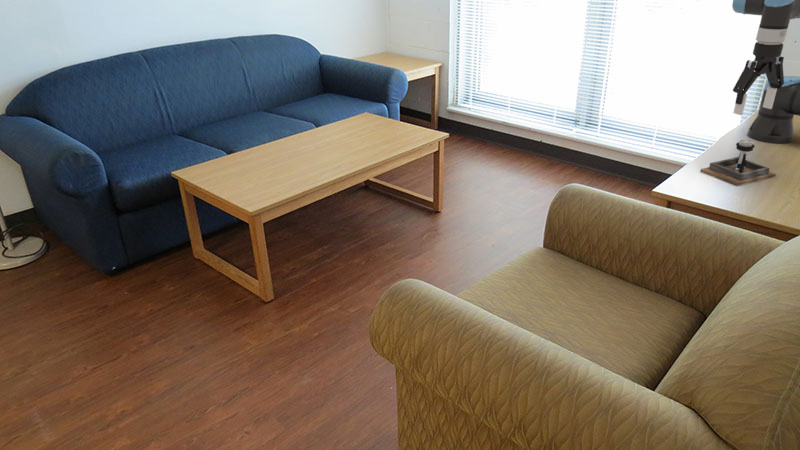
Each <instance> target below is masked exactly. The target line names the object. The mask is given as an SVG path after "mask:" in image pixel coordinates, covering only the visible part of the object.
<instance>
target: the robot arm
mask: <svg viewBox="0 0 800 450" xmlns="http://www.w3.org/2000/svg"><path fill="white" fill-rule="evenodd" d="M731 6H732V10H733V12H734V13H736V14H742V15H750V16H751V15H752V16H760V23H759V25H758V29H757V33H756V37H755V40H756V42H754V46H753V51H752V54H753V56H755V58H754V60H750V59H748V60H747V61H746V62H745V66H744V68H743V70H742V72H741V74H740V76H739V78H738V80H737V82H736V83H735V85H734V86H733V88H732V92H734V93H736V97H735V98H736V99H735V104H734V109H733V114H735V115H739V116H743V115H744V110H745V108H746V107H745V106H746V103H747V99H748V94H747V92H748V91H749V90H750V88H751V87H752V85H753V84H755V82H756V80H757V79H758V77H760V76H762V75H765V76H766V78H767V81H766V83H765V86H764V88H763V93H762V97H761V101H760V103H759V104H760V105H759V109H758V113H757V116H756V117H755V119H754V120H753V122H752V123H751V124H750V127H749V128H748V131H747V136H748V137H749V138H751V139H754V140H756V141H760V142H765V143H772V144H773V143H774V144H786V143H791V142H793V139H794V136H795V134H794V121H793V120H794V116H798V117H800V76H797V75H795V76H794V75H793V76H791V75H789V76H788V75H785V74H784V65H783V64H784V56H782V52H783V48H784V42H785V40H786V37H787V32H788V28H789V24H790V20H794V19H800V0H732V5H731Z"/></svg>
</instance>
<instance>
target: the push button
mask: <svg viewBox="0 0 800 450" xmlns="http://www.w3.org/2000/svg"><path fill="white" fill-rule="evenodd" d="M735 145H736V148H735V149H736V150H738V151H739V152H740V153H739V156H737V157H738V159H736V165H735V166H734V169H735V170H734V171H736V172H739V173H740V172H741V171H742V170H743V172H744V170H745V167H746V163H747V153H749V152H752V151H753V150H754V148H755V146H756V145H755V144H753V142H752V141H751V140H749V139H748V140H745V139H741V140H740V141H739V142H736V143H735Z"/></svg>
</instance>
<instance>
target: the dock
mask: <svg viewBox="0 0 800 450" xmlns="http://www.w3.org/2000/svg"><path fill="white" fill-rule="evenodd" d="M738 157H739V156H736V157H732V158H731V157H730V158H726V159H721V160H718V161H714V162H710V163H709V166H707V167H702V168H700V171H699V172H700V173H702V172H703V174H705V175H708V176H710V177H712V178H715V179H718V180H720V181H723V182H726V183H729V184H730V185H733V186H736V187H740V186H742V185H747V184H750V183H755V182H759V181H763V179H764V180H767V179H766V178H768V179H770V178H769V177H772V178H774V177H773V176H775V177H776V176H777V173H775V172H773V171H770V167H768V166H765V165H762V164H760V163H759V164H758V163H756V162H753V161H751V160H747V159H746V160H747V163H746V167H745V170H744V172H743V170H742V171H741V172H740V173H739V172H736V171H734V170H735V169H734V166H735V165H736V159H738Z"/></svg>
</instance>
